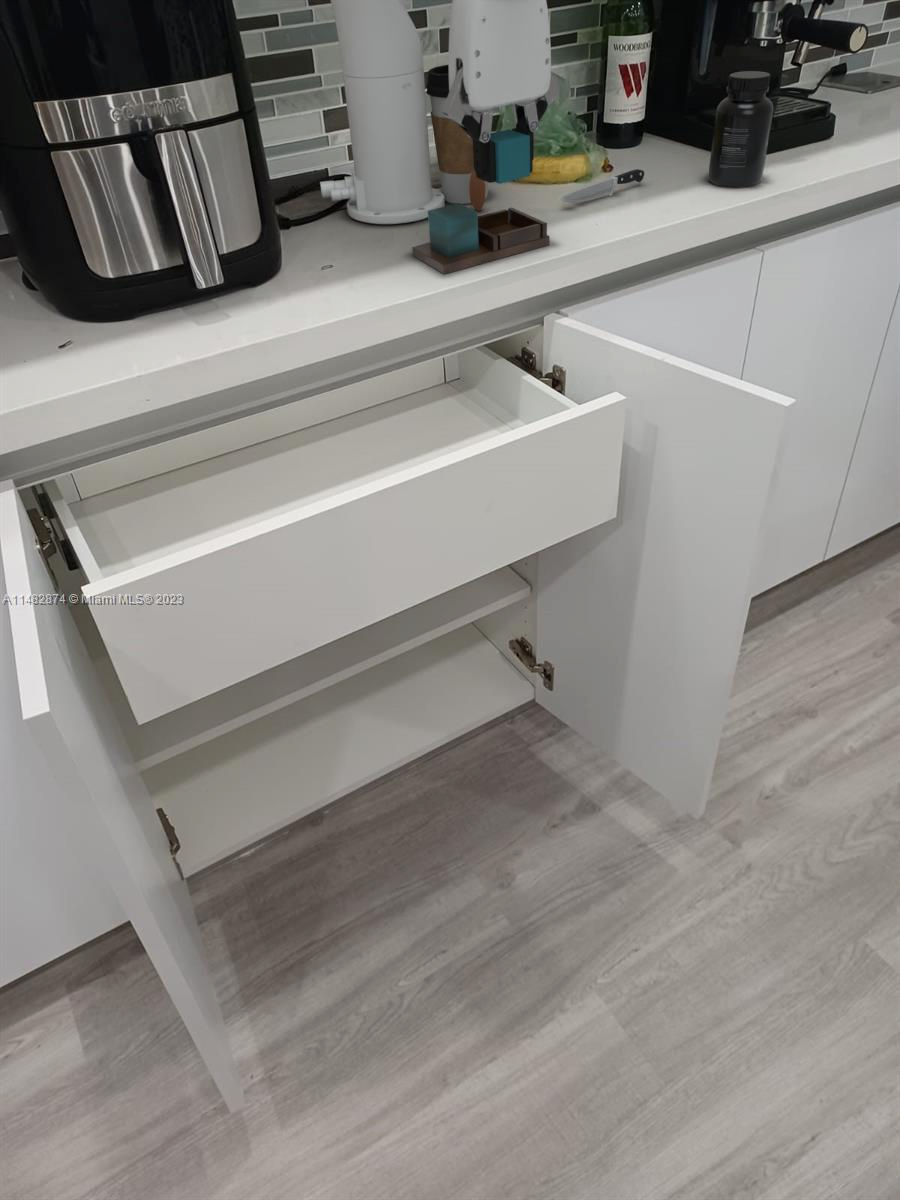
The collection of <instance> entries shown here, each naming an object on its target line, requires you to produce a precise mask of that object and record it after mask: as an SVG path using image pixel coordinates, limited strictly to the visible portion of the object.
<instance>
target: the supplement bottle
mask: <svg viewBox="0 0 900 1200" xmlns="http://www.w3.org/2000/svg"><path fill="white" fill-rule="evenodd" d="M770 79H771V74H770V73H769V72H765V71H758V70H754V71H753V70H745V71H737V72H736V71H735V72H733V73H731V74H729V75H728V82H727V87H726V93H727V97H725V98H724V99H722V101H720V103H718V104H717V107H716V111H715V118H714V126H713V134H712V143H711V150H710V157H709V165H708V177H707V178H708V180H709V181H710V182H711V183H712V184H714V185H716V186H720V187H727V188H742V187H744V188H745V187H749V186H753V185H756V184H759V182H761V180H762V179H763V175H764V170H765V166H766V159H767V154H768V153H767V152H768V147H769V140H770V134H771V130H772V129H771V127H772V123H773V115H774V104H773V101H771V100H770V98H768V97H767V96H766V95H767V94H768V92H769V91H770V86H769V85H770Z"/></svg>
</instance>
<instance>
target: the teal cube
mask: <svg viewBox="0 0 900 1200" xmlns="http://www.w3.org/2000/svg"><path fill="white" fill-rule="evenodd" d="M490 140H491V141H494V143H495V160H496V180H495V182H494V183H496V184H499V185H500V184H504V183H509V182H513V181H517V180H521V179H525V178H528V177H531V173H530V136H528V135H525V134H522V133H519V132H516V131H512V129H505V130H501V131H500V130H499V131H495V132H491V136H490Z"/></svg>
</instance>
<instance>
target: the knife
mask: <svg viewBox="0 0 900 1200" xmlns="http://www.w3.org/2000/svg"><path fill="white" fill-rule="evenodd" d="M644 177H645V171H644V170H642V169H638V168H636V169H632V170H629V171H627V172H623V173H620V174H618V175H615V176H611V177H609V178H607V179H604V180H601V181H599V182H595V183H591V184H589V185H587V186H583V187H580V188H577V189H575V190H572V191H571V192H568V193H566V194H564V195H562V196H561V197H560V198H559V200H560V201H561V202H564V203H570V204H574V203H577V204H578V203H583V202H589V201H593V200H597V199H600V198H601V199H602V198H604V197H608V196H609V197H611V196H613V193H614V190H615V187H616V185H626V184H628V183H633V182H636V183H641V182H642V181H643V179H644Z"/></svg>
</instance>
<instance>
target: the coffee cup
mask: <svg viewBox="0 0 900 1200" xmlns="http://www.w3.org/2000/svg"><path fill="white" fill-rule="evenodd" d="M425 89H426V94H427V95H428V96H429V98H430V106H431V107H430V108H431V111H430V118H431V126H432V133H433V137H434V144H435V145H434V146H435V153H436V159H437V166H438V170H439V179H440V185H441V192H442V193H443V194H444V196H445V202H447V203H449V204H457V203H460V204H462V205H466V204H467V205H468V204H472V203H471V200H470V193H469V183H470V177H471V174H472V171H473V170H474V160H473V139H471V138H469V137H468V135H467V133H466V132H465V131H464V130H463V129H462V128H461V127H460V126H459V125H458V124H457V123H455V122H453V121H451V120H450V119H448V118H447V117H445V116H444V115H443V114H442V109H443V106H444V104H445V101H446V99H447V97H448V94H449V64H443V65H438V66H435V67H432V68H430V69H429V70H428V72H427V83H426V84H425ZM469 109H470V104H464V105H462V110H463V111H464V112H466V113H467V114H469ZM492 129H493V126H492V127H491V130H492ZM488 195H489V182H486V181H485V200H486V199H487V198H488Z"/></svg>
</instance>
